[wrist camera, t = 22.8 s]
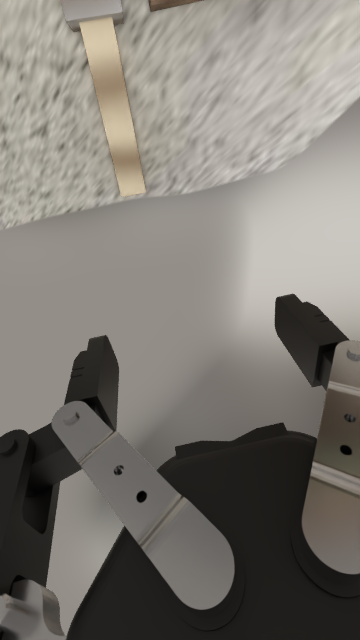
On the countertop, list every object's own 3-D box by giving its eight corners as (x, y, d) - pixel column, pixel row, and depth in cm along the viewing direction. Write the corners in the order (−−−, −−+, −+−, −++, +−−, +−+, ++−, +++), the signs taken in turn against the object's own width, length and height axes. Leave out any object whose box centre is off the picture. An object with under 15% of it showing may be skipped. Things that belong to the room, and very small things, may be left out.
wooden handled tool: (152, 186, 37) (154, 193, 34) (114, 193, 37) (112, 200, 34) (109, -56, 26) (106, -80, 22) (53, -47, 25) (42, -71, 22)
